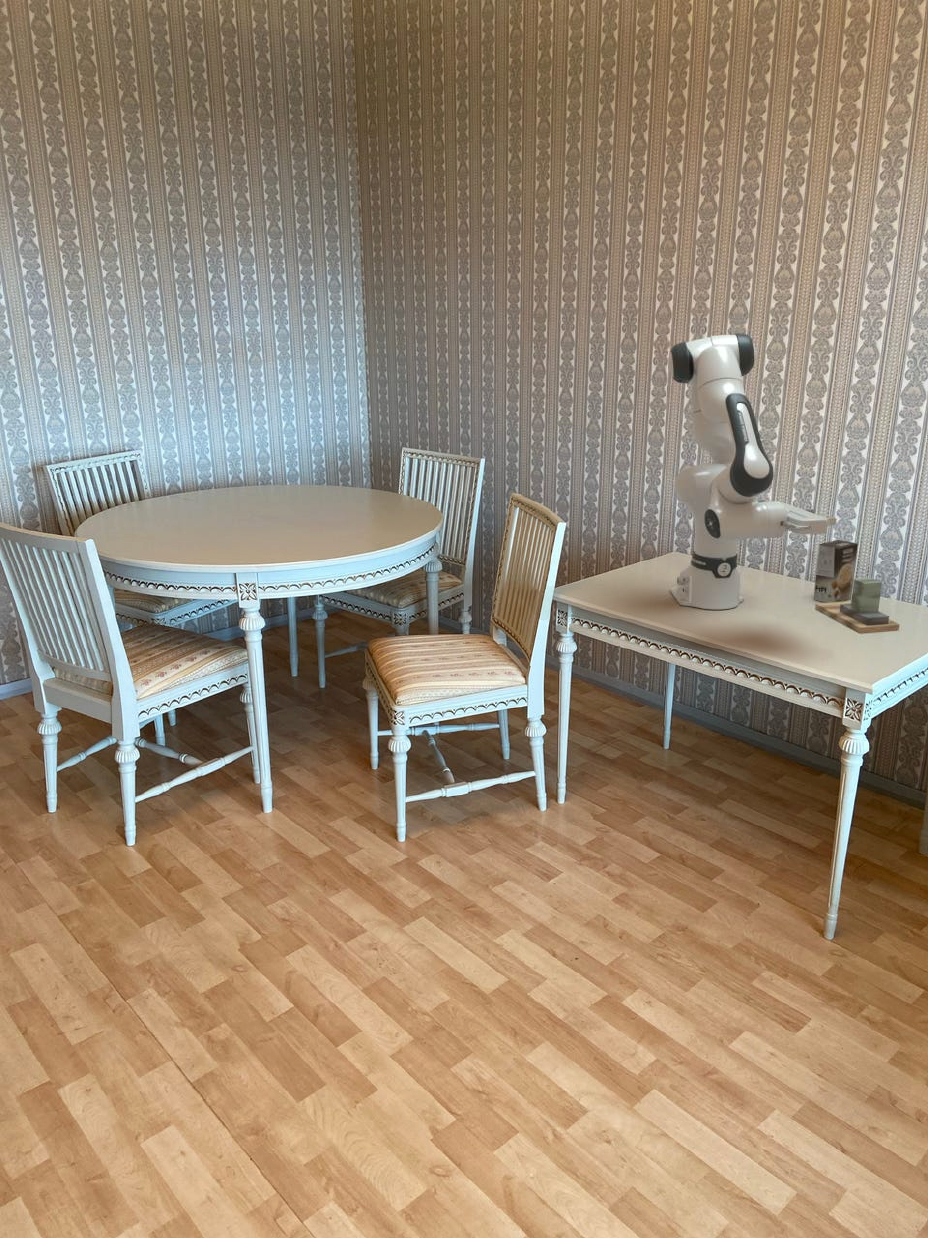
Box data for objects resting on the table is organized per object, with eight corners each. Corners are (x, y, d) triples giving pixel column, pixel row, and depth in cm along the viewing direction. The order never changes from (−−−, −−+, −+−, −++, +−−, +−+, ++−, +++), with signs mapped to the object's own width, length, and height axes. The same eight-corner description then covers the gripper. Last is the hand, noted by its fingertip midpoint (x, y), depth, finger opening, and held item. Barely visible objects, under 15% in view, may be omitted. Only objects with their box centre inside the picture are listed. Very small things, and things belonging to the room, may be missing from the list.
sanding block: (839, 611, 259) (843, 575, 256) (859, 609, 260) (864, 573, 257) (867, 625, 248) (871, 587, 245) (888, 623, 249) (893, 586, 246)
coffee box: (832, 604, 270) (838, 548, 265) (812, 599, 275) (818, 543, 270) (852, 598, 275) (858, 543, 270) (831, 593, 280) (837, 538, 275)
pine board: (814, 608, 267) (815, 603, 266) (851, 606, 269) (852, 600, 268) (859, 633, 247) (860, 627, 246) (898, 629, 249) (899, 624, 249)
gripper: (795, 515, 225) (849, 512, 228) (752, 498, 244) (803, 496, 247) (792, 542, 227) (846, 538, 229) (750, 523, 246) (800, 520, 249)
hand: (823, 516), depth 238 cm, fingers open, 8 cm apart
